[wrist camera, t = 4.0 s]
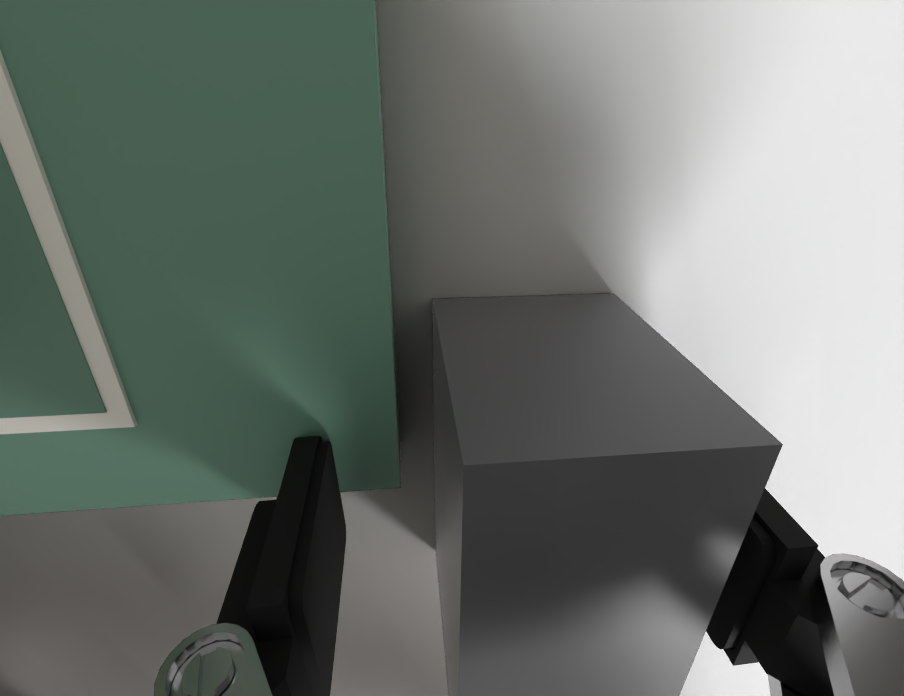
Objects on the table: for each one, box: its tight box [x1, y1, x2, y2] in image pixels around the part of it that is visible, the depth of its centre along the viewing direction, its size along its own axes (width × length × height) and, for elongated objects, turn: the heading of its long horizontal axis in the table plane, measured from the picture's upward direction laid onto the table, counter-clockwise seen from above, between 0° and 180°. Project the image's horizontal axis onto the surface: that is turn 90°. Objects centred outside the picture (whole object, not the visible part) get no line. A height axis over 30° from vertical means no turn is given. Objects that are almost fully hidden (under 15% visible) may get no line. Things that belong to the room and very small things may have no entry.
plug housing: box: [433, 293, 783, 696], centre depth 10 cm, size 4×8×6 cm, turn 0°
